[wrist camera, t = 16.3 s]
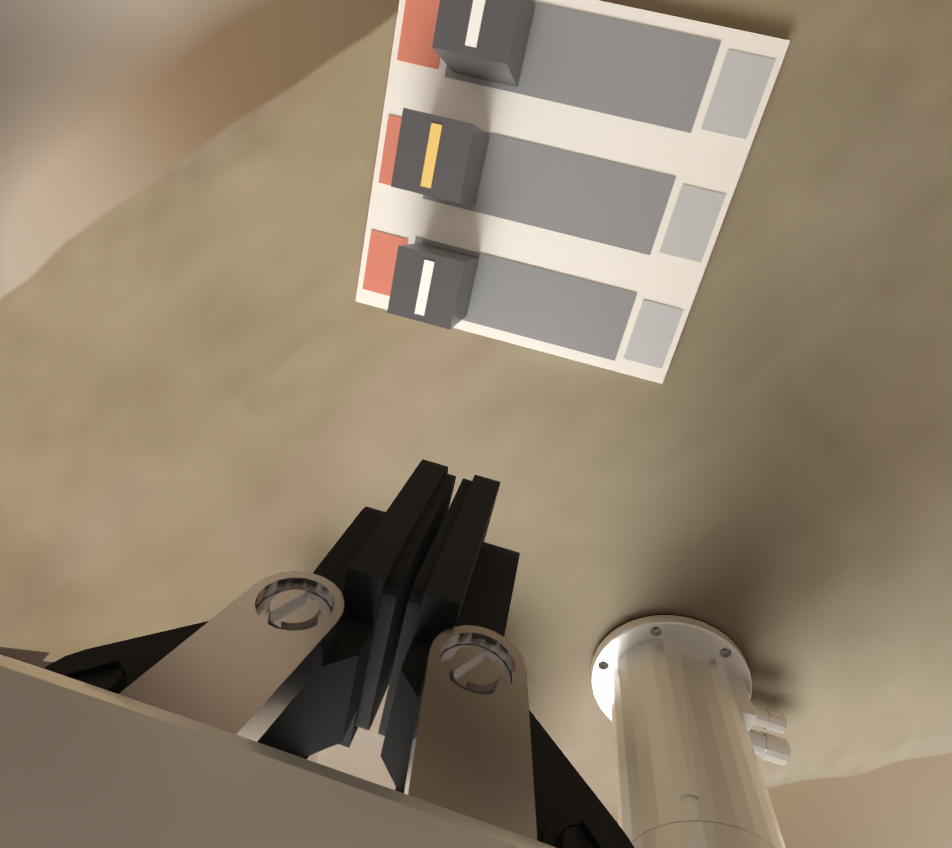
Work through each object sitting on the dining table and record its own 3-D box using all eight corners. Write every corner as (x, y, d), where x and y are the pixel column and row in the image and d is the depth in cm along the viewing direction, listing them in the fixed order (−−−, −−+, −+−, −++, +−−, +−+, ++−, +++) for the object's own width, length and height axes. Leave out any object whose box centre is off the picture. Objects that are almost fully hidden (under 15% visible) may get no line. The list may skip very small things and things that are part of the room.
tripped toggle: (489, 138, 34) (474, 123, 29) (474, 206, 35) (458, 203, 31) (427, 123, 34) (402, 107, 30) (415, 191, 36) (390, 186, 31)
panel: (782, 47, 31) (831, 3, 25) (659, 379, 38) (674, 407, 32) (411, -32, 33) (373, -89, 27) (361, 299, 40) (323, 311, 34)
